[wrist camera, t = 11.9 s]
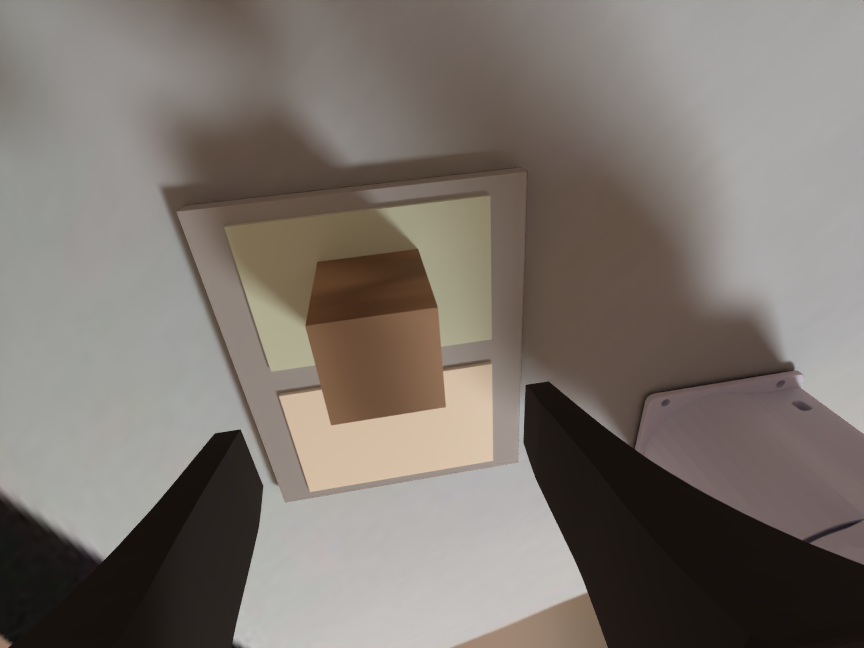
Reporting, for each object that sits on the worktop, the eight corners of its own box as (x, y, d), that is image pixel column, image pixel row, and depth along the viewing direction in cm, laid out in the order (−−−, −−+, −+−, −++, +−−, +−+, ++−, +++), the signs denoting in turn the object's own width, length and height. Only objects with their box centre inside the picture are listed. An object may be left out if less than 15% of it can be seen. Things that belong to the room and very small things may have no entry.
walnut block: (418, 248, 18) (438, 307, 14) (426, 333, 20) (445, 407, 16) (317, 261, 18) (305, 326, 13) (336, 346, 20) (331, 425, 15)
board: (520, 167, 18) (528, 172, 17) (513, 451, 26) (519, 464, 25) (183, 205, 17) (174, 213, 16) (287, 490, 25) (284, 505, 24)
